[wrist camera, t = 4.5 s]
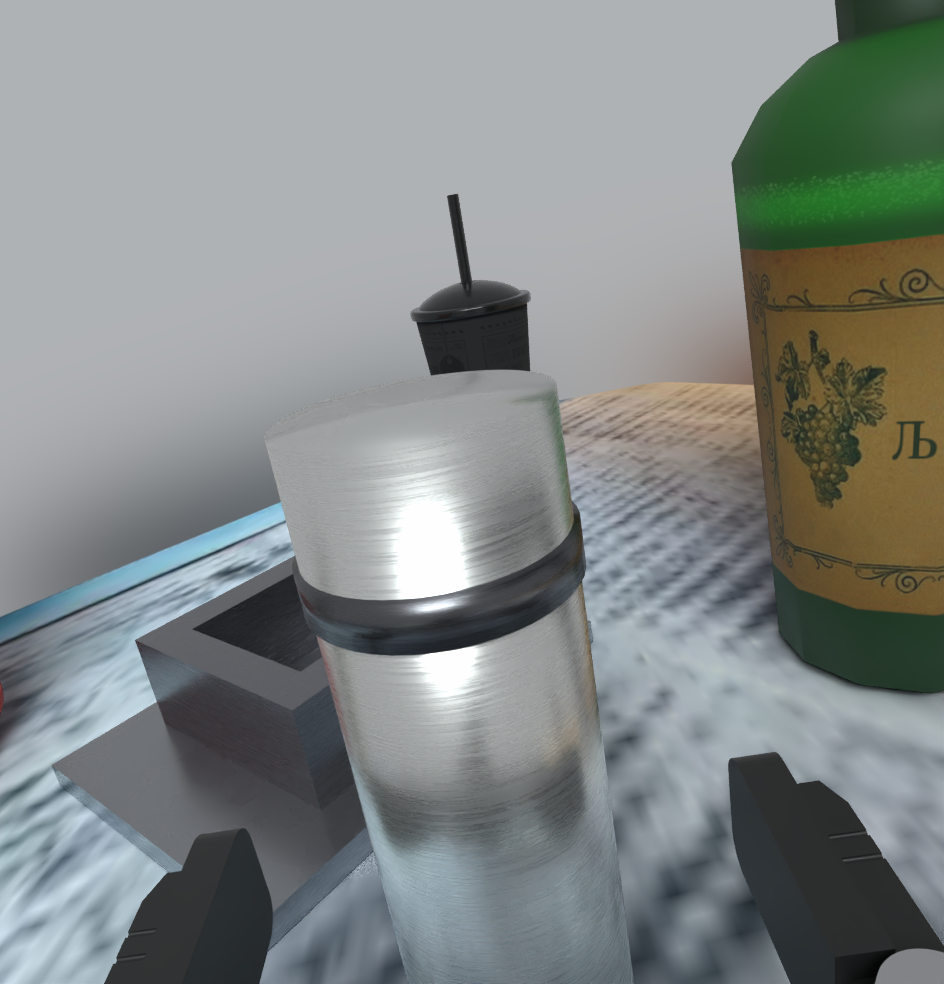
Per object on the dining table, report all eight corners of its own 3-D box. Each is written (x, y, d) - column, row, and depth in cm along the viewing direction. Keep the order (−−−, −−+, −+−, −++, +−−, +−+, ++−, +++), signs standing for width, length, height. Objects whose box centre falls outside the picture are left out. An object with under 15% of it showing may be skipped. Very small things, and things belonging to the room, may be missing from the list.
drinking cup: (572, 506, 50) (530, 179, 43) (458, 532, 49) (397, 201, 42) (539, 474, 57) (498, 189, 51) (439, 496, 56) (384, 208, 49)
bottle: (771, 723, 27) (734, -263, 18) (740, 583, 37) (705, -106, 28) (1125, 723, 25) (1291, -436, 15) (991, 572, 34) (1044, -195, 25)
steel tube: (524, 976, 20) (406, 369, 15) (692, 1078, 17) (621, 366, 12) (402, 1144, 17) (195, 444, 11) (583, 1306, 14) (418, 467, 8)
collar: (378, 587, 43) (359, 505, 42) (593, 640, 34) (580, 539, 33) (60, 785, 31) (15, 679, 29) (267, 951, 22) (219, 812, 20)
